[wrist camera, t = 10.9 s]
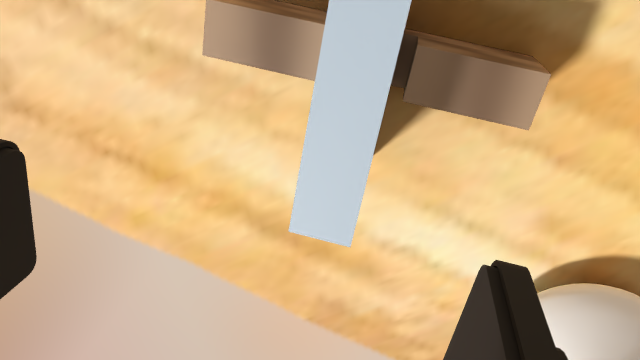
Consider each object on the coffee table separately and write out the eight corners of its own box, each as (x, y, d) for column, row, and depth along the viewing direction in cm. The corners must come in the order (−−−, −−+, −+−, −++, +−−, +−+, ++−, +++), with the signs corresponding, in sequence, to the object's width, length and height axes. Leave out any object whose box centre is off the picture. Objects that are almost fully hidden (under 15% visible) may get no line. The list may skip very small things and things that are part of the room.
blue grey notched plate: (327, 147, 33) (288, 231, 23) (374, -86, 27) (347, -105, 17) (371, 157, 33) (350, 247, 23) (428, -76, 26) (433, -88, 17)
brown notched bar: (230, 41, 31) (202, 55, 27) (235, -9, 30) (206, -2, 26) (514, 105, 29) (528, 130, 26) (532, 56, 28) (551, 74, 24)
